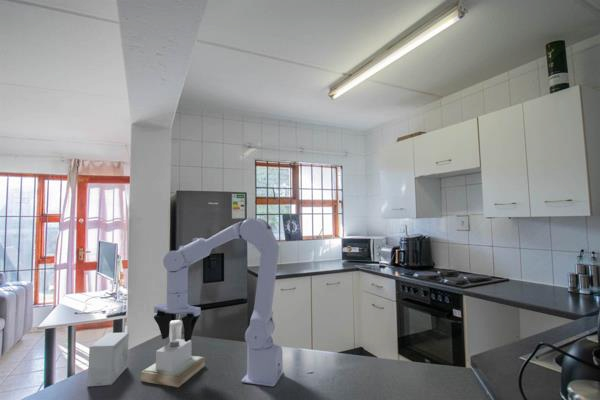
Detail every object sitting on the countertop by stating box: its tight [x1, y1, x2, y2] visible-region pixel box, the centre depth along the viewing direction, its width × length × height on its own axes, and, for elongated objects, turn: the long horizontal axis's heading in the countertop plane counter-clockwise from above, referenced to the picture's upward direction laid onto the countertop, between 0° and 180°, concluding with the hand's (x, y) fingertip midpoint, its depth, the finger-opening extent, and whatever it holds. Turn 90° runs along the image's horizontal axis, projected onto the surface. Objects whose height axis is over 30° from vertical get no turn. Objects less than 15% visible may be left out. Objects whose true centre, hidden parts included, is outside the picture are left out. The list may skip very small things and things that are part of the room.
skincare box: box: [86, 331, 130, 388], centre depth 86 cm, size 10×6×10 cm, turn 9°
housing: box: [155, 338, 193, 372], centre depth 87 cm, size 9×5×6 cm, turn 165°
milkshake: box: [168, 314, 183, 343], centre depth 106 cm, size 5×5×10 cm
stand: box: [140, 355, 206, 388], centre depth 87 cm, size 12×12×3 cm
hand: (176, 339), depth 88 cm, fingers open, 7 cm apart
